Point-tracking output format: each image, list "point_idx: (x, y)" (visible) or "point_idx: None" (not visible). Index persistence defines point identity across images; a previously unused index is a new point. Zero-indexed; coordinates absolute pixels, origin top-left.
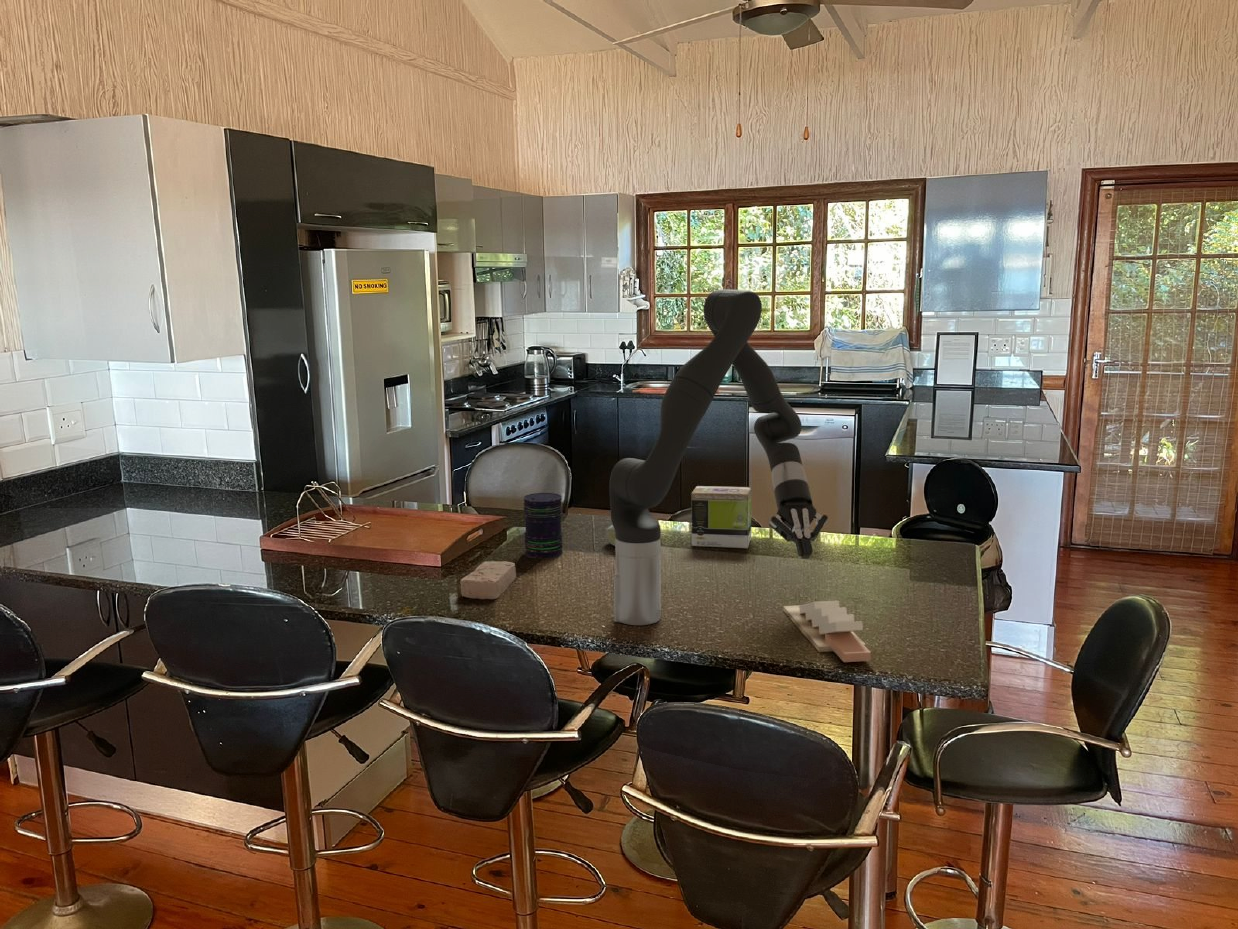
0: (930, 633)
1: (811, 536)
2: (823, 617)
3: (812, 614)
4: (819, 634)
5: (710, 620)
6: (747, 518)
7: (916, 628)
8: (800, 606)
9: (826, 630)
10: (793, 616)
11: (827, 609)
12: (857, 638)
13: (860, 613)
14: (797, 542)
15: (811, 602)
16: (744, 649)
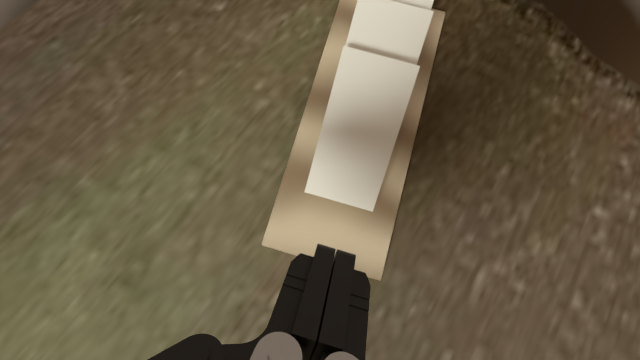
0: (154, 9)
1: (239, 355)
2: (431, 5)
3: None
4: None
5: (600, 295)
6: None
7: (158, 42)
8: (376, 199)
9: None
10: (398, 194)
11: (413, 8)
12: (339, 16)
13: (202, 173)
14: (363, 349)
15: (411, 91)
16: (586, 93)
